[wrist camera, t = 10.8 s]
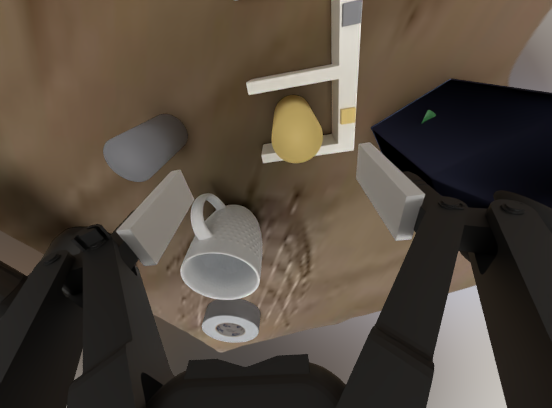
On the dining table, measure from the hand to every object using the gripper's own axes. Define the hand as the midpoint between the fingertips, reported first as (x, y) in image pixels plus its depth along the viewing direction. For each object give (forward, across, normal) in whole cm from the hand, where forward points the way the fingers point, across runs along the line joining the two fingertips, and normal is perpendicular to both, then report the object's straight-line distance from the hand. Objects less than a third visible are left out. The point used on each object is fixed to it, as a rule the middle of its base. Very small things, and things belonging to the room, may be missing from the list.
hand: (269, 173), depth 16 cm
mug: (+17, -10, -16) cm, 25 cm away
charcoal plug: (+16, -15, 0) cm, 22 cm away
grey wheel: (+17, -20, -50) cm, 57 cm away
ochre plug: (+16, +3, 0) cm, 16 cm away
